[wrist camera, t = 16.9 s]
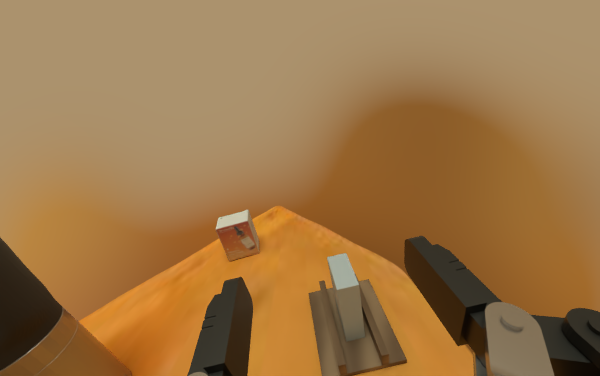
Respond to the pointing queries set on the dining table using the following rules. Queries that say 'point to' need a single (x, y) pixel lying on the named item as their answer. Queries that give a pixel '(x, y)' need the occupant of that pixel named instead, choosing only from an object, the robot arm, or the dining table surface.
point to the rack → (360, 352)
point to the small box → (238, 235)
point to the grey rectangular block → (347, 296)
